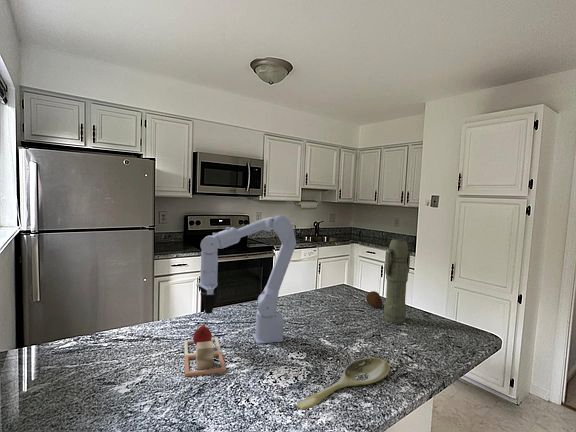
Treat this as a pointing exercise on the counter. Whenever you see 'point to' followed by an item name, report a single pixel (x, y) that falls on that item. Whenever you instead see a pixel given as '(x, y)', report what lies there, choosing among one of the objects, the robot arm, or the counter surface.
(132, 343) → the counter surface
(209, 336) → the onion
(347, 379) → the spoon
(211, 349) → the birch block
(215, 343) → the cream frame
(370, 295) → the potato
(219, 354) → the terracotta frame
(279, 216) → the robot arm
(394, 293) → the thermos
